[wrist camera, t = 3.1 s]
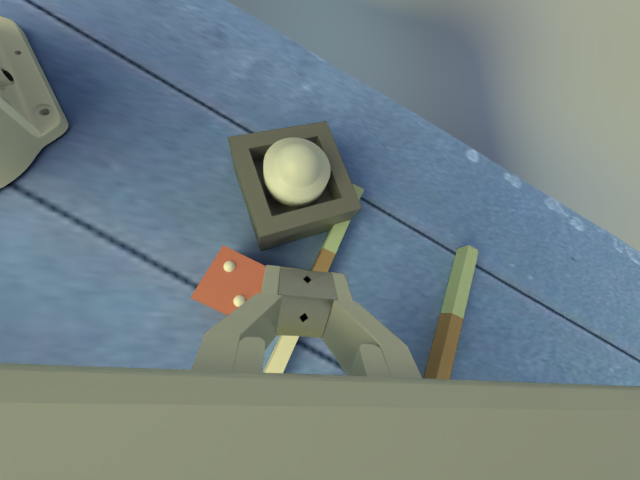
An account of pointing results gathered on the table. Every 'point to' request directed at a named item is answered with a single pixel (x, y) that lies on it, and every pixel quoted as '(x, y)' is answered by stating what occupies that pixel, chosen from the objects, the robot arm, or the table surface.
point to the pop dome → (295, 171)
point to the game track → (448, 319)
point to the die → (230, 281)
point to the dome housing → (283, 221)
